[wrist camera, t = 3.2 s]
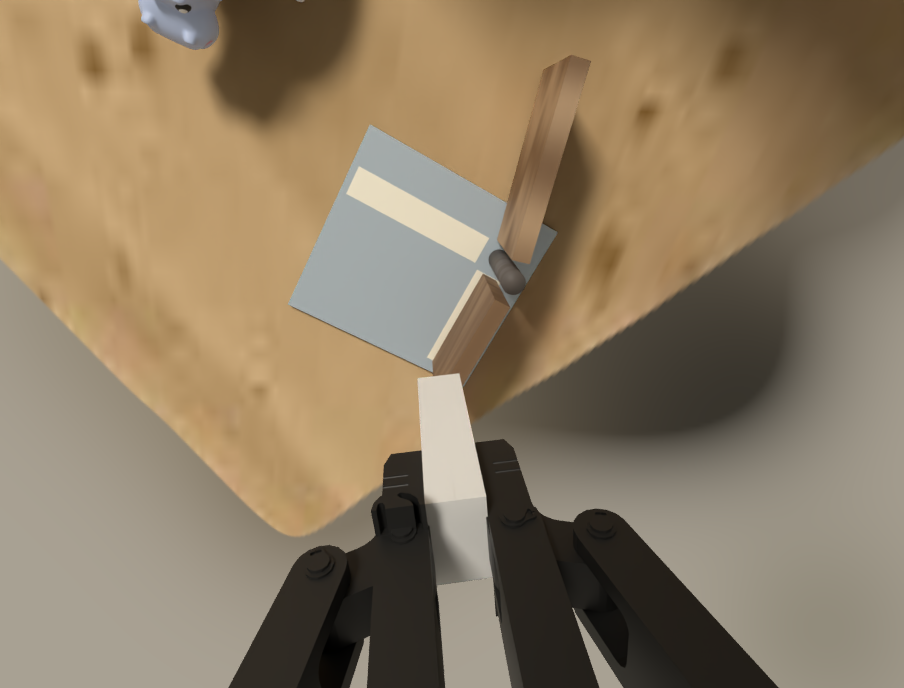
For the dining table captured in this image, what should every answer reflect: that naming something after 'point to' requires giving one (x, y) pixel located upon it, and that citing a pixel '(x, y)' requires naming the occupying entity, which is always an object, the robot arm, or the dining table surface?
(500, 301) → the fence fixed
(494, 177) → the dining table surface
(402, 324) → the card
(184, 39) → the hippopotamus toy
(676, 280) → the dining table surface
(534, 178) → the fence panel
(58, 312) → the dining table surface
